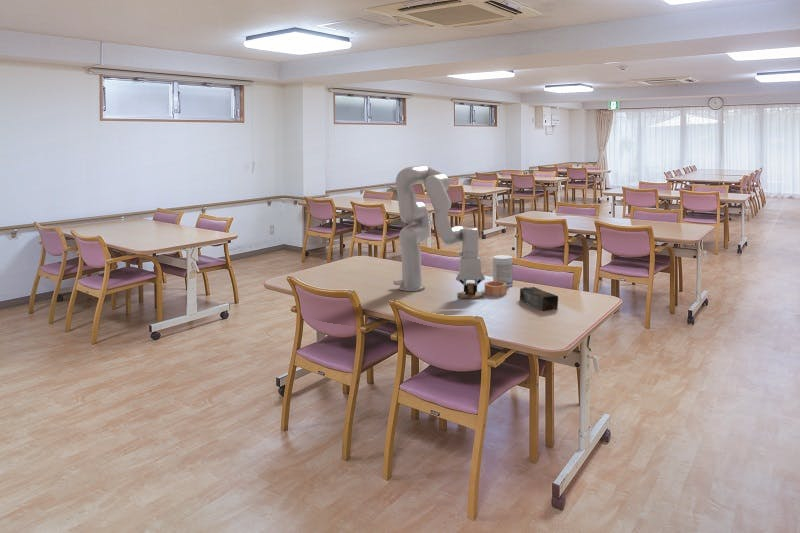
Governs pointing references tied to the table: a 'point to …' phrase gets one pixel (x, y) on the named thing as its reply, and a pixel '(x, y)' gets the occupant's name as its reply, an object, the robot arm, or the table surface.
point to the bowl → (495, 288)
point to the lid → (470, 293)
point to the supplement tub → (503, 269)
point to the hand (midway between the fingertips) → (470, 293)
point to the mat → (470, 299)
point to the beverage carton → (539, 298)
